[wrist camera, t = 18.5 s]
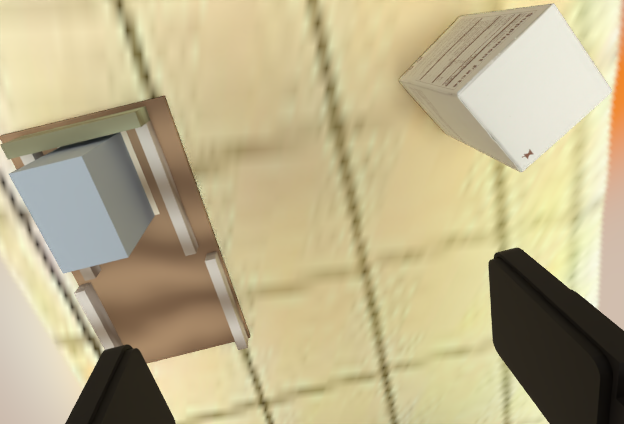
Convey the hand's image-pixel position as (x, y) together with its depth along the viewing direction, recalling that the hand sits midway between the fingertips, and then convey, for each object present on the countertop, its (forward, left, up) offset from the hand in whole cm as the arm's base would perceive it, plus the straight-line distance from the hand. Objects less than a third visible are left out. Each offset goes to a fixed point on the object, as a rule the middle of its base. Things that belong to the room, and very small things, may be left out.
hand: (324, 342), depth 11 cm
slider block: (+12, +10, -28) cm, 32 cm away
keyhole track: (+8, +16, -28) cm, 33 cm away
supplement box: (-12, -10, -28) cm, 32 cm away
